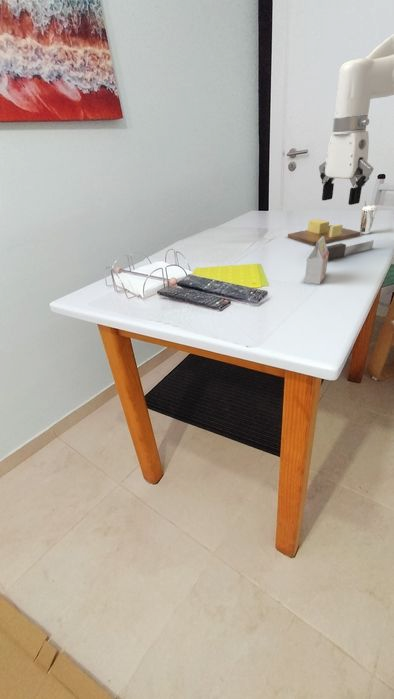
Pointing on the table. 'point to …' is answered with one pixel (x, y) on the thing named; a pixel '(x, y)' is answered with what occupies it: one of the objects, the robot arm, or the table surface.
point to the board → (314, 237)
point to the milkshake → (367, 218)
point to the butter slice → (335, 230)
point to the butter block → (318, 226)
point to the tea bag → (317, 263)
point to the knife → (347, 249)
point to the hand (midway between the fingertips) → (339, 201)
